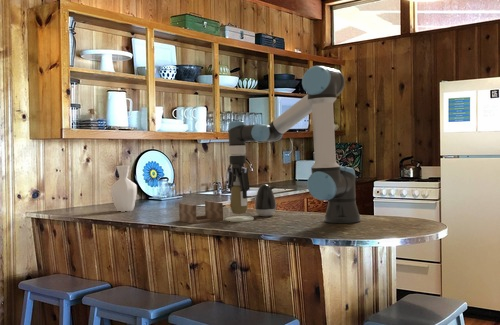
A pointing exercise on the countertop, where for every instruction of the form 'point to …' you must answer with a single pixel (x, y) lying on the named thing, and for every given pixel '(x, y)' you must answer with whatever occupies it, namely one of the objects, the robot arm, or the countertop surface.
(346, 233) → the countertop surface
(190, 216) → the holder
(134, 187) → the vase
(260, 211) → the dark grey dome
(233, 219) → the plate
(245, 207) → the squeeze bottle
